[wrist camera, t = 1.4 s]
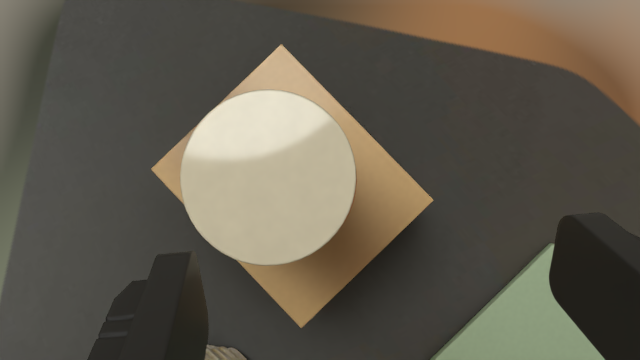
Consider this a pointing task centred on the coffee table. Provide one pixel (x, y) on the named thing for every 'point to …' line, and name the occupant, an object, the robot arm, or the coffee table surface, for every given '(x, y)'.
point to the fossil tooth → (222, 353)
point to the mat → (522, 323)
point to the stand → (366, 213)
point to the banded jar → (268, 177)
